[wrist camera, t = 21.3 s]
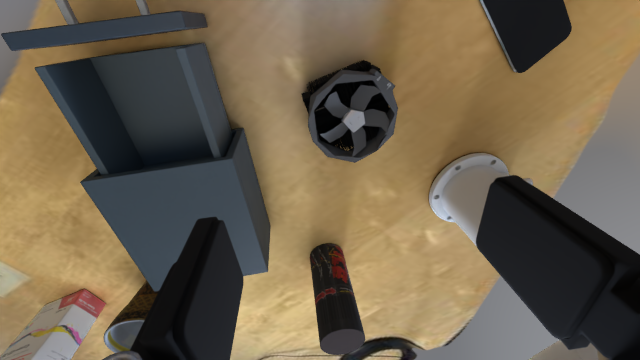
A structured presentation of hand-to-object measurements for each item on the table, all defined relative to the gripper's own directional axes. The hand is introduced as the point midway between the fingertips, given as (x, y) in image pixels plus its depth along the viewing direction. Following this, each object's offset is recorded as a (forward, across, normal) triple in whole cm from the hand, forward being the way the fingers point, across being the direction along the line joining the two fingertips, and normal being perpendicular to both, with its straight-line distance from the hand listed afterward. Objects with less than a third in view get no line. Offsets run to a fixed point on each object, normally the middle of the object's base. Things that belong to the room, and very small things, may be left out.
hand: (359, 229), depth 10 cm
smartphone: (+27, -25, -6) cm, 37 cm away
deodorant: (+27, 0, +29) cm, 40 cm away
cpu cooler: (+27, -4, +3) cm, 27 cm away
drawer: (+25, +16, -3) cm, 30 cm away
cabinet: (+26, +16, +12) cm, 33 cm away
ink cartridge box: (+26, +44, +31) cm, 60 cm away
